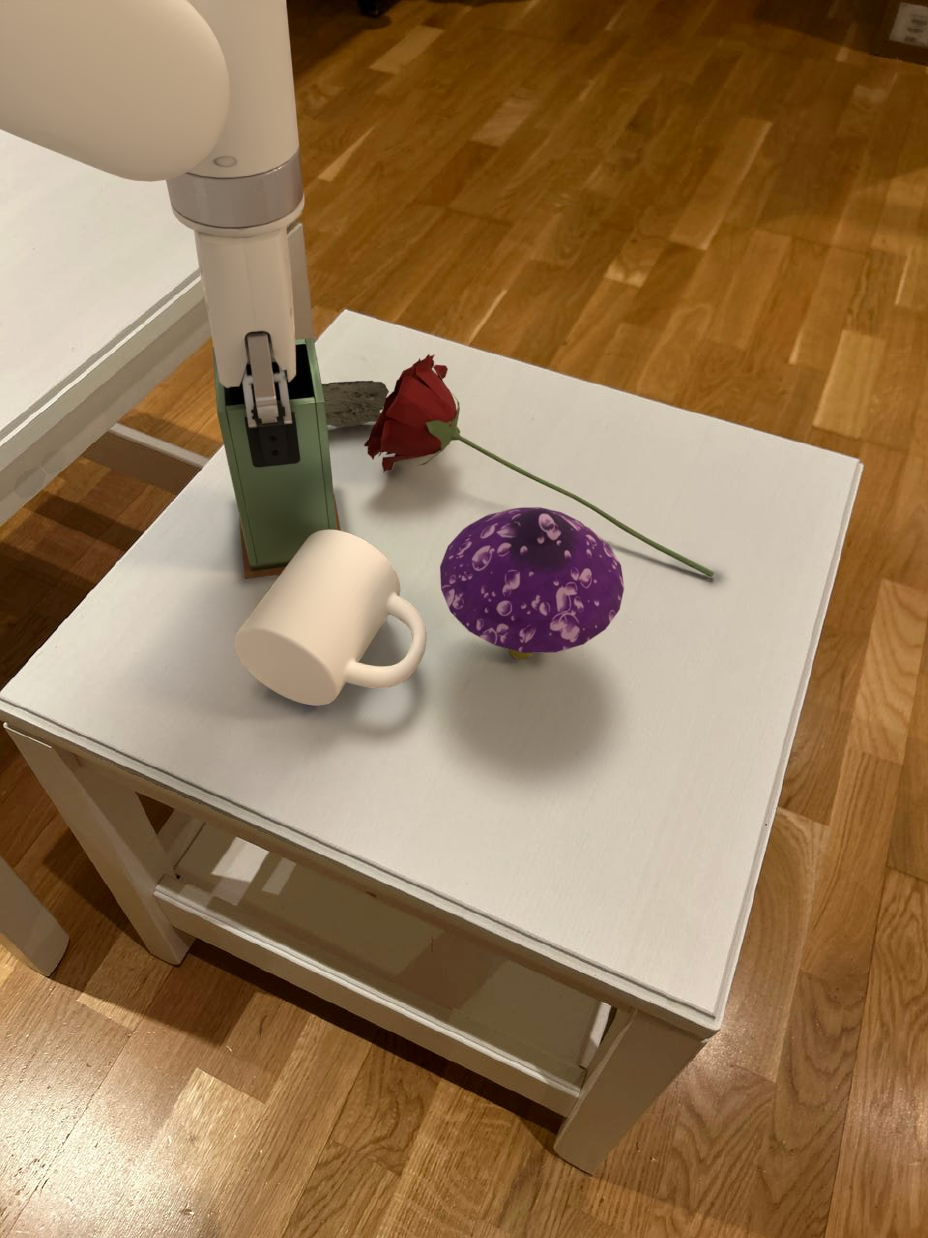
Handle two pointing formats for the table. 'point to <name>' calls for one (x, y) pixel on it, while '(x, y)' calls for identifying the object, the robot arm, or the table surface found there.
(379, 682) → the mug
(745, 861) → the table surface
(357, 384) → the stone fragment
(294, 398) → the box
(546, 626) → the decorative mushroom
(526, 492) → the table surface
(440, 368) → the flower
